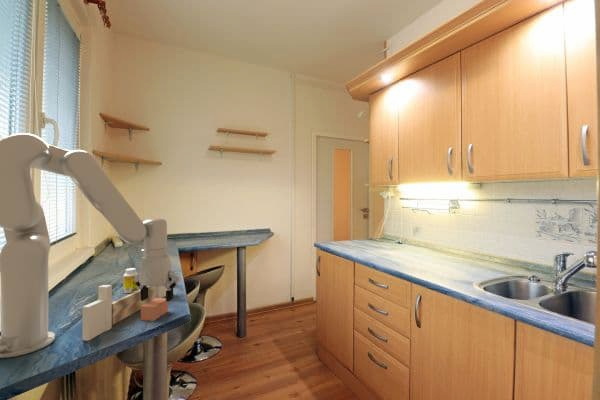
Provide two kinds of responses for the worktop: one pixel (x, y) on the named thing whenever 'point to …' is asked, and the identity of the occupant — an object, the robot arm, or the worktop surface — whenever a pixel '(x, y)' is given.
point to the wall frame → (103, 312)
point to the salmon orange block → (154, 309)
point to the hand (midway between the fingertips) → (157, 299)
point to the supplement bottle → (130, 281)
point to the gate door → (130, 304)
